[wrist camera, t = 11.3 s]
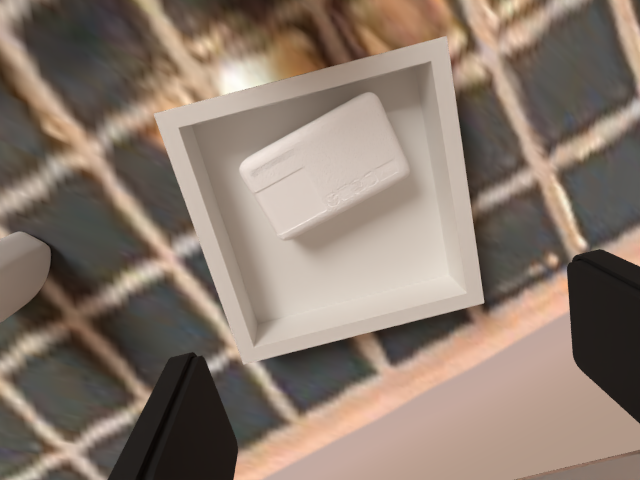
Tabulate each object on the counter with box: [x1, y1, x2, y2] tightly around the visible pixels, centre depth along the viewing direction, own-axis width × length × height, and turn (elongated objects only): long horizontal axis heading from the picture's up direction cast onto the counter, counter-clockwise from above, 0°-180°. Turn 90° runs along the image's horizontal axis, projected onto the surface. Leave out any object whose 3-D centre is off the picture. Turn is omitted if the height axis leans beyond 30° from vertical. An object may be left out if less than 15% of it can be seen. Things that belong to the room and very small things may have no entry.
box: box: [154, 36, 484, 364], centre depth 26 cm, size 16×16×4 cm
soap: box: [239, 92, 410, 241], centre depth 25 cm, size 9×6×3 cm, turn 118°
